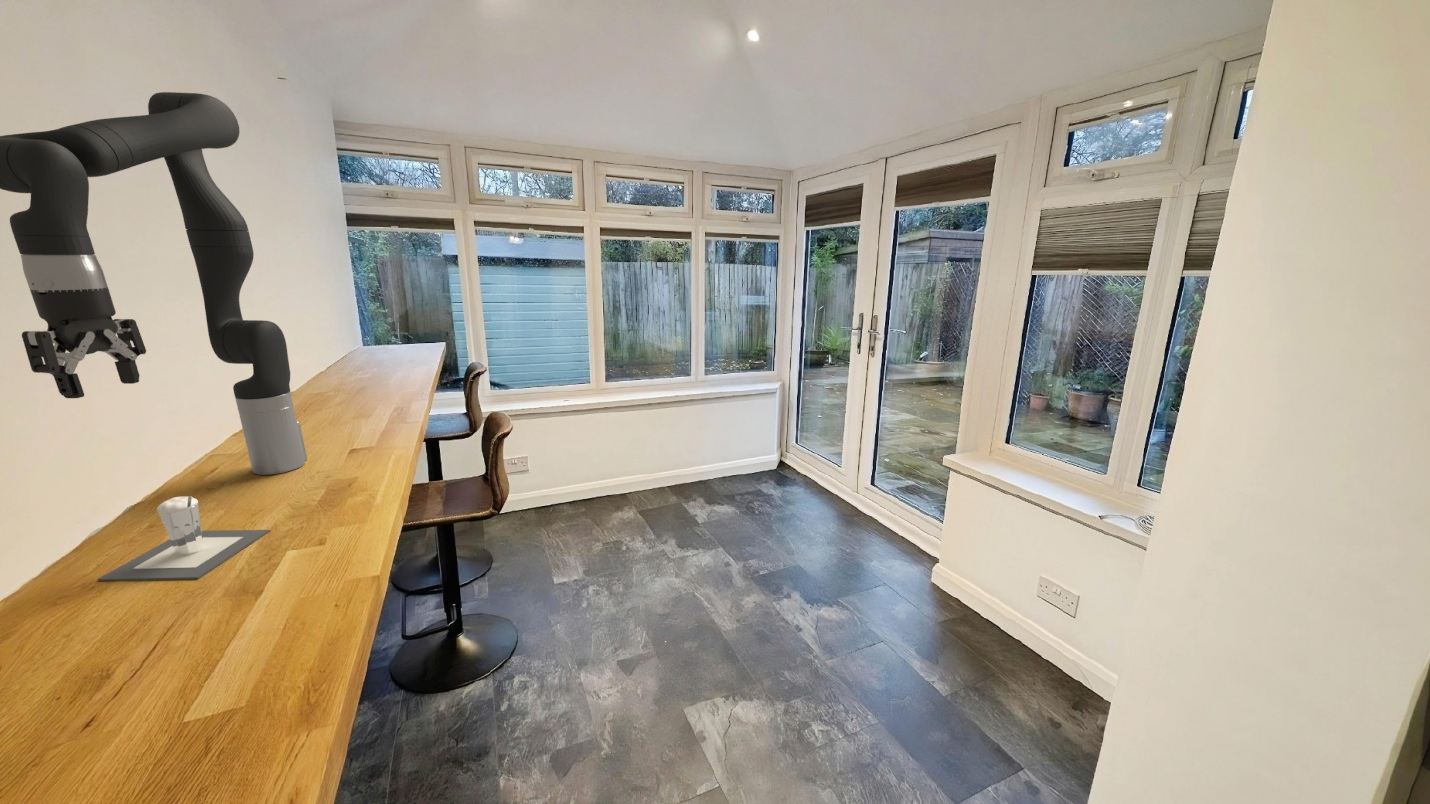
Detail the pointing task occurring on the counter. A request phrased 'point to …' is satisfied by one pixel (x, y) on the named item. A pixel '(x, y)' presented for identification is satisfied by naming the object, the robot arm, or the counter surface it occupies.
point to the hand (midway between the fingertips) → (104, 390)
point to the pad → (185, 557)
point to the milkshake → (182, 524)
